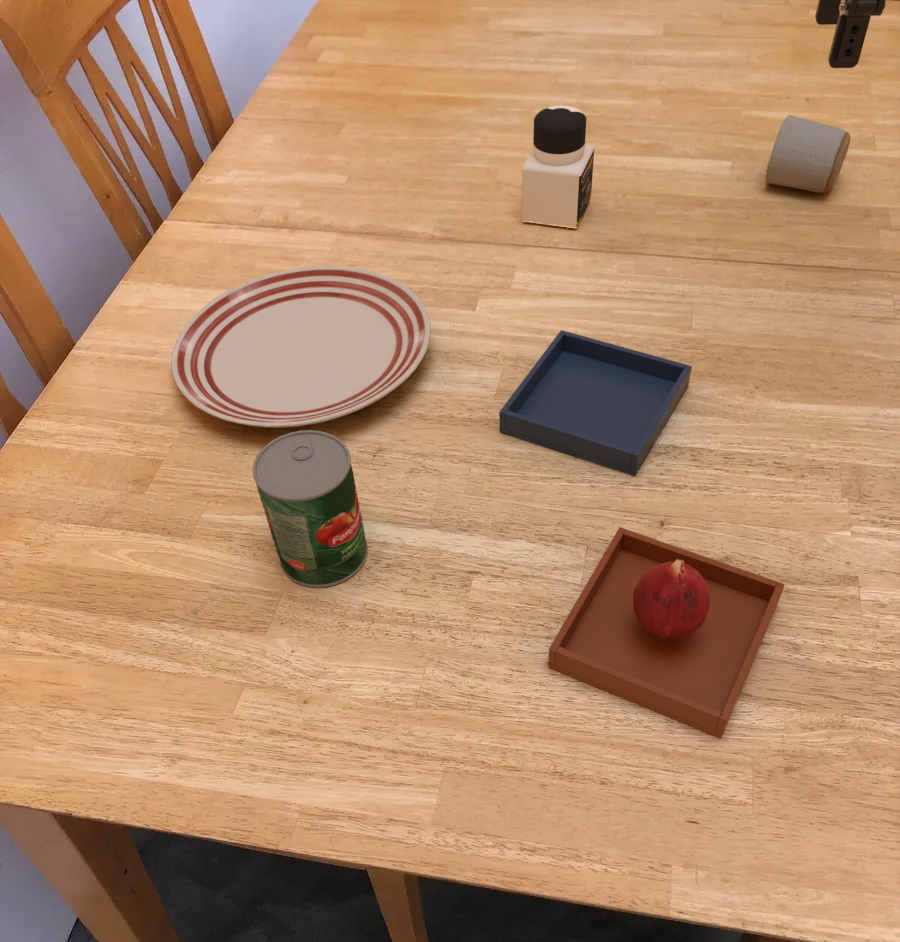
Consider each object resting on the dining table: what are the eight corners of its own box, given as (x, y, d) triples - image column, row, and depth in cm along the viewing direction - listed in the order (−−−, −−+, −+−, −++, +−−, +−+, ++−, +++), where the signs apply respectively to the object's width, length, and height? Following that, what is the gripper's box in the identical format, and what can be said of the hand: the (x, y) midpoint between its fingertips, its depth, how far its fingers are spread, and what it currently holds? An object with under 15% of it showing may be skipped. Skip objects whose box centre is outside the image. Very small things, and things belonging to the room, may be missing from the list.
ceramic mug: (827, 206, 112) (845, 142, 106) (760, 193, 115) (774, 130, 109) (845, 166, 118) (864, 103, 112) (781, 155, 121) (796, 93, 115)
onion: (714, 647, 73) (733, 584, 67) (646, 666, 72) (659, 604, 66) (682, 593, 77) (697, 527, 70) (617, 610, 76) (626, 546, 69)
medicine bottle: (577, 231, 112) (583, 130, 103) (521, 223, 114) (521, 124, 104) (591, 200, 116) (598, 101, 107) (536, 194, 118) (538, 96, 108)
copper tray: (777, 603, 76) (785, 583, 74) (721, 738, 69) (727, 721, 67) (616, 546, 81) (619, 526, 79) (547, 667, 73) (548, 648, 71)
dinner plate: (127, 416, 95) (116, 390, 93) (256, 271, 111) (250, 245, 108) (368, 475, 88) (363, 449, 85) (470, 310, 103) (468, 284, 101)
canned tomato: (368, 583, 80) (351, 493, 71) (278, 592, 80) (249, 503, 71) (366, 516, 85) (350, 425, 76) (281, 525, 85) (254, 434, 76)
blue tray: (688, 386, 93) (692, 365, 91) (635, 476, 86) (638, 455, 84) (560, 350, 98) (560, 329, 96) (499, 432, 91) (499, 411, 89)
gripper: (980, -188, 59) (897, 82, 71) (935, -241, 67) (868, 8, 80) (857, -183, 59) (796, 82, 72) (828, -236, 68) (779, 10, 81)
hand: (834, 43), depth 76 cm, fingers open, 8 cm apart
